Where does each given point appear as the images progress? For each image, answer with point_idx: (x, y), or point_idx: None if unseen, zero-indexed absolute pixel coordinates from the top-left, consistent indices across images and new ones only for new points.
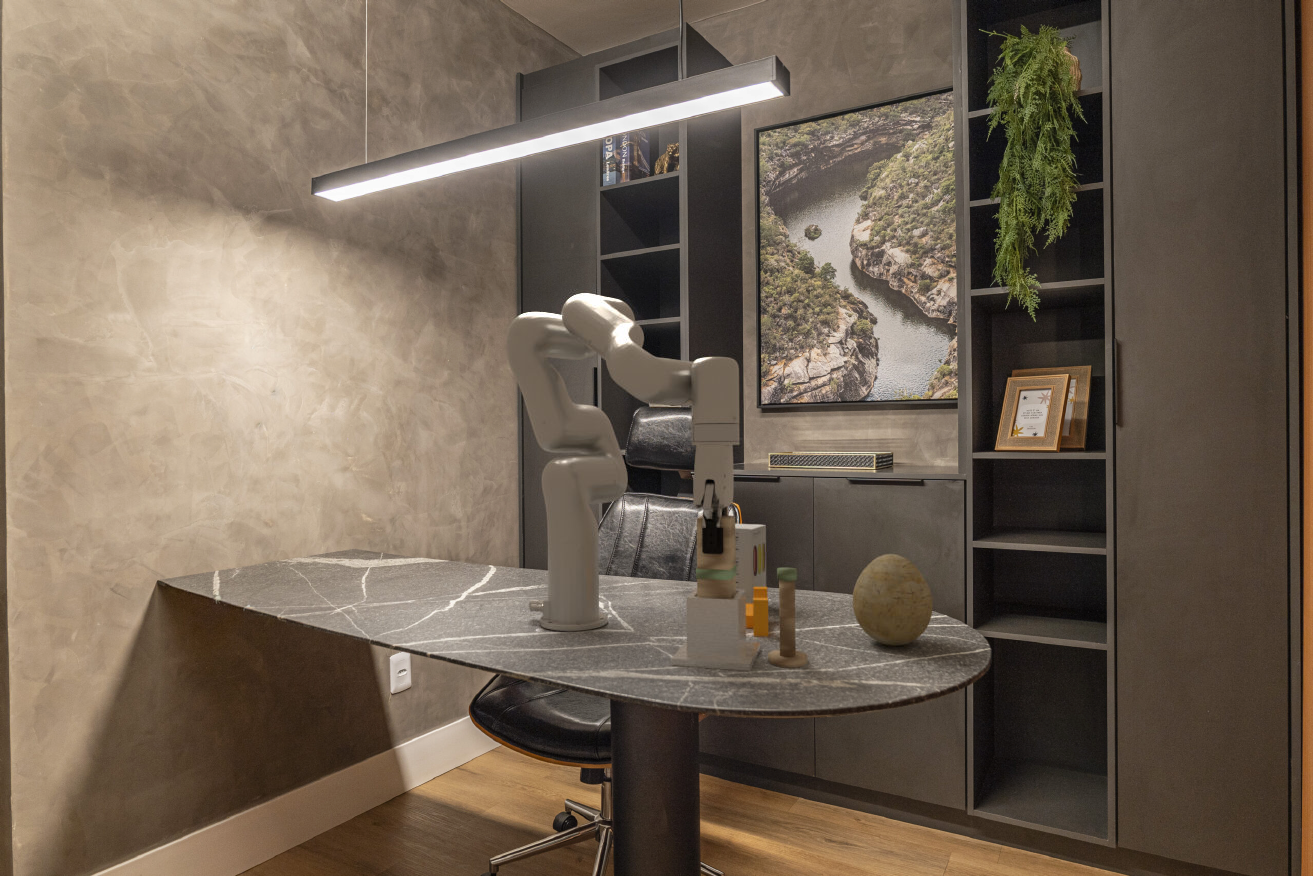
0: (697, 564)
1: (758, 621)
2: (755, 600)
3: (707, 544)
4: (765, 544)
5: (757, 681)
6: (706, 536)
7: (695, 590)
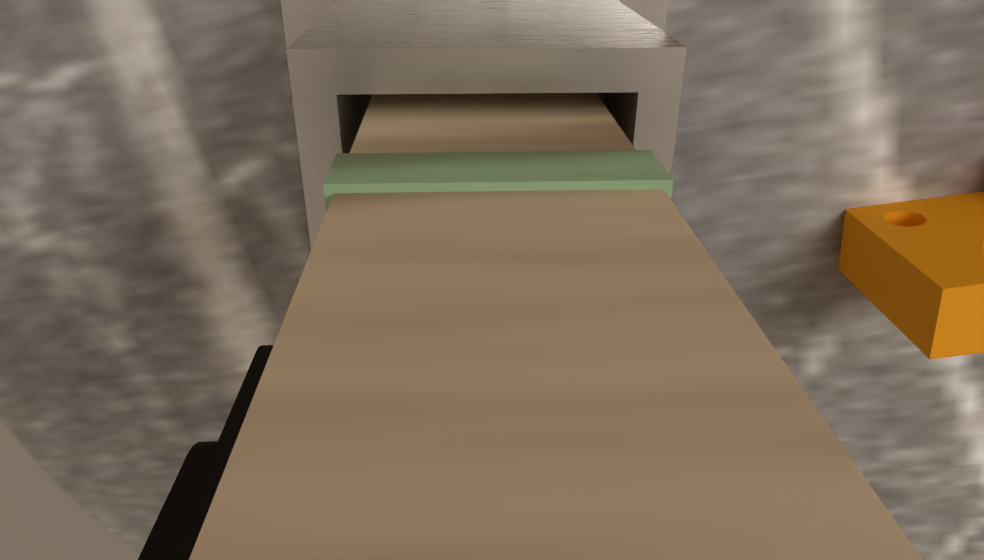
0: (326, 215)
1: (877, 260)
2: (940, 299)
3: (183, 473)
4: None
5: (210, 309)
6: (147, 544)
7: (564, 60)
